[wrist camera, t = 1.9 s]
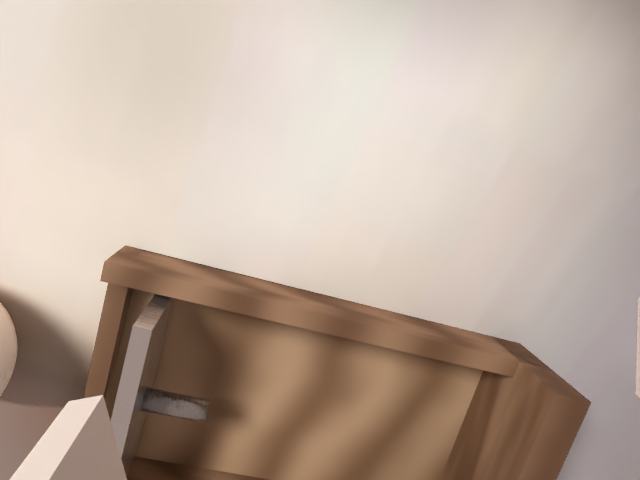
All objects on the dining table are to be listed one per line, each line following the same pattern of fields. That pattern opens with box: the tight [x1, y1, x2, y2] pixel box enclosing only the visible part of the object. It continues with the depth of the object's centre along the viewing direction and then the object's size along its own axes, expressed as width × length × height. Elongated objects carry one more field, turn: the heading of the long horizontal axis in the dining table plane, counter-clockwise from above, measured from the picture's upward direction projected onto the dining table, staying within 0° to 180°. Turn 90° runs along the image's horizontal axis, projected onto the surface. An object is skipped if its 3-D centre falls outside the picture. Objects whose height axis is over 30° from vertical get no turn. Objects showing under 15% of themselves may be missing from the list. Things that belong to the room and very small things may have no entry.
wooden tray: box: [83, 246, 591, 480], centre depth 30 cm, size 30×16×8 cm, turn 73°
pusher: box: [111, 294, 210, 477], centre depth 28 cm, size 5×13×7 cm, turn 163°
